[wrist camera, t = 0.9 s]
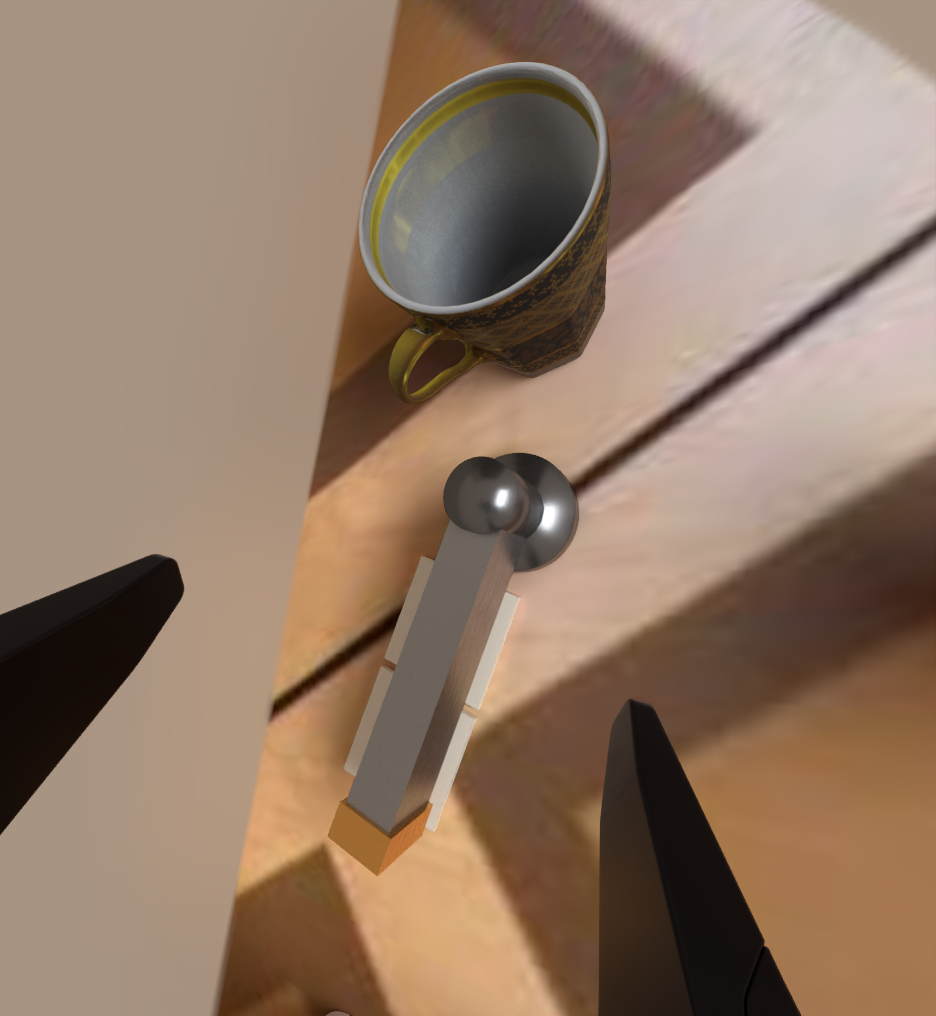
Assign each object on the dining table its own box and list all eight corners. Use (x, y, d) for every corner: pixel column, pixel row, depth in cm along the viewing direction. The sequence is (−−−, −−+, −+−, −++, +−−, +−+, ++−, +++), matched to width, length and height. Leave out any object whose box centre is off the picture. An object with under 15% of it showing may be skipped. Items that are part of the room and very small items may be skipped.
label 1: (480, 708, 26) (476, 710, 25) (387, 657, 28) (383, 657, 28) (520, 597, 26) (517, 597, 25) (425, 556, 28) (420, 555, 28)
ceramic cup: (506, 219, 30) (425, 53, 20) (672, 254, 25) (662, 66, 16) (408, 418, 30) (288, 343, 21) (554, 486, 26) (482, 429, 17)
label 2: (436, 828, 26) (431, 833, 25) (347, 766, 28) (342, 769, 28) (477, 717, 26) (473, 719, 25) (384, 665, 28) (379, 666, 28)
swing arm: (495, 471, 26) (458, 448, 22) (553, 489, 24) (526, 468, 20) (374, 800, 26) (315, 839, 21) (425, 837, 24) (372, 887, 20)
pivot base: (554, 590, 25) (548, 589, 24) (453, 548, 28) (443, 546, 26) (595, 476, 25) (591, 471, 24) (491, 445, 28) (483, 439, 27)
